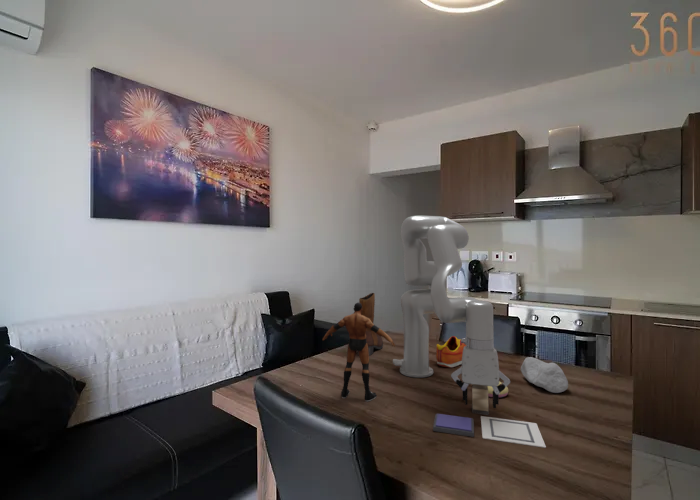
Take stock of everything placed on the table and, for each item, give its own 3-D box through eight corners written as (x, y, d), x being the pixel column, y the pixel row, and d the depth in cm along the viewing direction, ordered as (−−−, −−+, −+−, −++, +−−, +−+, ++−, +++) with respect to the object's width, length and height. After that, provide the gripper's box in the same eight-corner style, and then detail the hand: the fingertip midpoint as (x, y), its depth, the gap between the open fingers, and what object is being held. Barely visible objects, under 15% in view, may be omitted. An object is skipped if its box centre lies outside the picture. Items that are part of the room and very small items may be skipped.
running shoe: (488, 356, 155) (488, 331, 155) (455, 372, 135) (454, 343, 135) (467, 351, 162) (466, 328, 162) (432, 365, 143) (431, 338, 143)
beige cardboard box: (472, 413, 101) (471, 388, 101) (471, 406, 105) (471, 383, 105) (488, 415, 100) (488, 390, 100) (488, 408, 104) (487, 384, 104)
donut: (481, 392, 122) (472, 397, 114) (479, 378, 123) (470, 382, 115) (512, 394, 116) (504, 399, 108) (510, 379, 117) (502, 383, 109)
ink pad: (433, 430, 91) (433, 425, 91) (435, 417, 99) (435, 412, 99) (474, 437, 88) (474, 431, 88) (473, 422, 96) (473, 417, 96)
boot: (372, 342, 180) (371, 289, 180) (388, 344, 176) (388, 290, 176) (348, 355, 158) (347, 295, 158) (366, 358, 153) (366, 296, 154)
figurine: (397, 397, 112) (396, 303, 112) (392, 405, 106) (392, 306, 106) (326, 388, 120) (326, 300, 120) (319, 395, 114) (318, 302, 114)
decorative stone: (579, 386, 114) (561, 360, 114) (556, 405, 112) (538, 379, 112) (544, 371, 131) (528, 349, 131) (524, 388, 130) (508, 366, 130)
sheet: (482, 438, 87) (482, 437, 87) (480, 416, 99) (480, 415, 99) (546, 447, 83) (546, 446, 83) (536, 423, 94) (536, 422, 94)
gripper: (448, 344, 102) (448, 406, 102) (513, 349, 96) (514, 414, 96) (449, 338, 109) (449, 396, 109) (510, 342, 103) (511, 403, 103)
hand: (480, 404), depth 103 cm, fingers open, 7 cm apart
